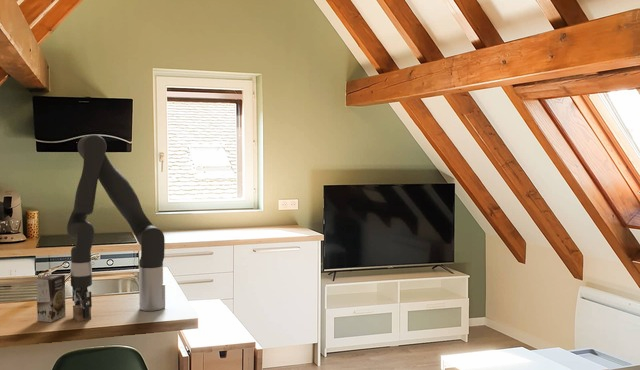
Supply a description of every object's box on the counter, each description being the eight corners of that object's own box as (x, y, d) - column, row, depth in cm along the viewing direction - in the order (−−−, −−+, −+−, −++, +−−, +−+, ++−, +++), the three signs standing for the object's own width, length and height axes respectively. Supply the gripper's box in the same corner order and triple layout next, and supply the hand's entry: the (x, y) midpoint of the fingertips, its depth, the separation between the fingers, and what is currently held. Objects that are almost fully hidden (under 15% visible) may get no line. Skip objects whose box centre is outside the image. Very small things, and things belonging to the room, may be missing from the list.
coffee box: (52, 322, 241) (51, 279, 240) (36, 321, 242) (35, 278, 241) (66, 315, 250) (65, 274, 249) (51, 314, 251) (50, 273, 250)
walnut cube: (86, 316, 250) (86, 303, 249) (91, 319, 246) (90, 306, 245) (73, 318, 246) (72, 305, 246) (77, 321, 243) (77, 308, 242)
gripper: (98, 275, 242) (98, 318, 243) (84, 269, 253) (85, 310, 254) (77, 278, 237) (78, 321, 238) (65, 271, 248) (65, 313, 249)
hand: (82, 315), depth 246 cm, fingers open, 8 cm apart
